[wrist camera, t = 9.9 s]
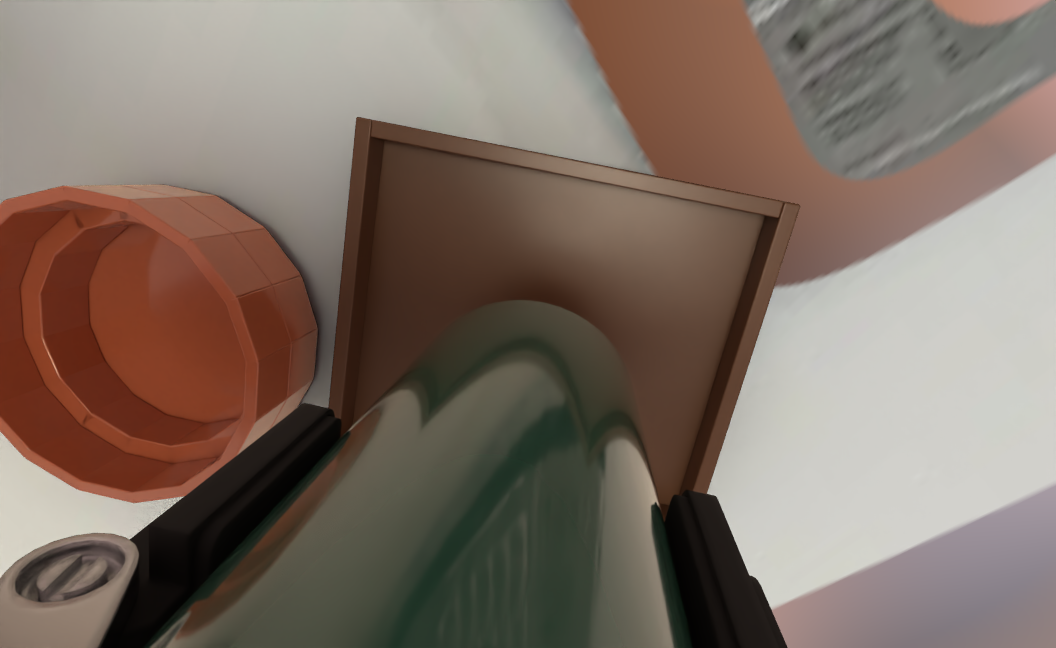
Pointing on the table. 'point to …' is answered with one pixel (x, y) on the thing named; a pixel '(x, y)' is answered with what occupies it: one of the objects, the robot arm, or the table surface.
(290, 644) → the bottle
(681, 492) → the tray
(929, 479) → the table surface
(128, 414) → the bowl
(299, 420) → the robot arm
